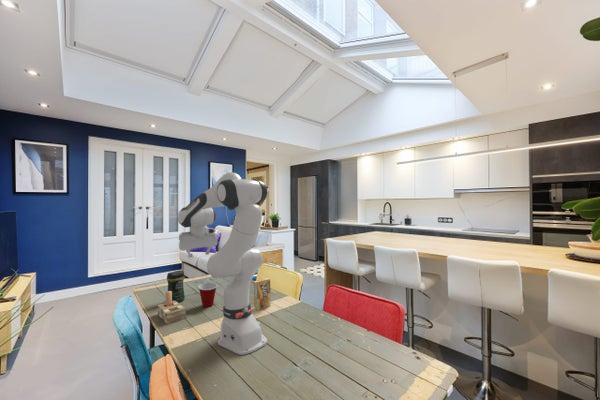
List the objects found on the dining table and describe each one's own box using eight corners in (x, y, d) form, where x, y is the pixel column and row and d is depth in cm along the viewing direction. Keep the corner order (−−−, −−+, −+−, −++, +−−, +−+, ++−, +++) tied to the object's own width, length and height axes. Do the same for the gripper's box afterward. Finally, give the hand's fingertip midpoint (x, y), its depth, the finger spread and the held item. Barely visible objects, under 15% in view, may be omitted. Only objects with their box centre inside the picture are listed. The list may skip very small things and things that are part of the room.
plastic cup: (204, 311, 142) (204, 289, 142) (194, 306, 149) (194, 286, 149) (221, 304, 151) (221, 284, 151) (211, 300, 158) (210, 281, 158)
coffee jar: (172, 305, 151) (171, 274, 151) (164, 302, 155) (164, 272, 155) (187, 299, 159) (186, 270, 159) (179, 297, 163) (179, 268, 164)
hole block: (185, 318, 134) (185, 308, 134) (167, 324, 128) (167, 314, 128) (175, 309, 146) (175, 300, 146) (157, 314, 139) (157, 305, 139)
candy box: (267, 303, 151) (266, 277, 151) (270, 305, 148) (270, 279, 148) (253, 307, 146) (253, 281, 146) (257, 310, 142) (257, 282, 142)
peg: (172, 313, 140) (172, 292, 140) (167, 315, 137) (166, 293, 138) (171, 312, 142) (170, 290, 142) (165, 313, 140) (164, 292, 140)
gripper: (181, 232, 131) (181, 259, 131) (218, 229, 146) (218, 253, 145) (176, 232, 136) (177, 258, 135) (213, 228, 150) (213, 252, 150)
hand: (199, 255), depth 141 cm, fingers open, 8 cm apart
